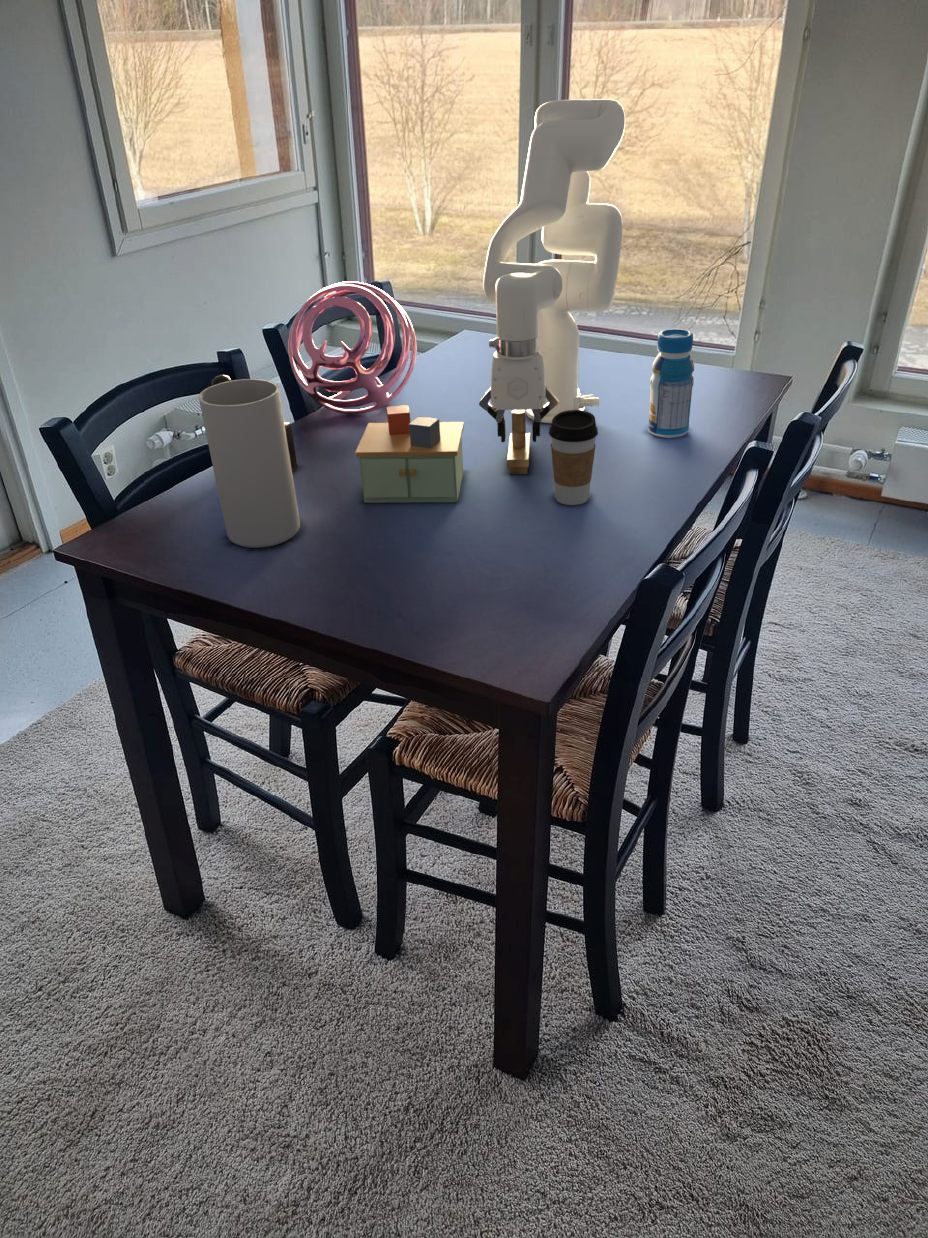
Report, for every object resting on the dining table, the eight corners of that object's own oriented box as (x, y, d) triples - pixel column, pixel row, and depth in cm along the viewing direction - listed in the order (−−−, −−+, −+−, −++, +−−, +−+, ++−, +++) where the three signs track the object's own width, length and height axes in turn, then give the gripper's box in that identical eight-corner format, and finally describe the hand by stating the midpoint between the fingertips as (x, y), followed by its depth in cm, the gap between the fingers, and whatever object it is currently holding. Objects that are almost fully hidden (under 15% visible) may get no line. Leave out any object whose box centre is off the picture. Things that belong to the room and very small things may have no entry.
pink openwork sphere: (335, 292, 220) (296, 245, 194) (445, 327, 216) (419, 283, 189) (296, 405, 222) (251, 373, 195) (404, 442, 217) (373, 414, 190)
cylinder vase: (267, 556, 154) (240, 410, 140) (212, 539, 160) (181, 398, 146) (315, 525, 163) (294, 385, 149) (262, 510, 168) (237, 374, 155)
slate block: (440, 439, 166) (439, 418, 164) (430, 448, 163) (429, 426, 161) (420, 437, 168) (419, 416, 166) (410, 445, 165) (408, 423, 163)
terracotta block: (409, 425, 173) (408, 404, 171) (411, 433, 170) (409, 412, 167) (388, 427, 173) (386, 406, 170) (389, 435, 169) (387, 414, 167)
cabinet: (466, 471, 179) (463, 421, 173) (459, 505, 166) (456, 453, 161) (373, 471, 181) (368, 422, 175) (360, 505, 168) (354, 454, 163)
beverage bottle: (671, 442, 186) (679, 342, 175) (638, 431, 191) (644, 333, 181) (697, 430, 190) (707, 332, 180) (664, 420, 196) (671, 324, 185)
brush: (530, 446, 187) (529, 398, 182) (528, 474, 176) (528, 423, 171) (510, 447, 188) (509, 399, 182) (507, 474, 177) (506, 424, 171)
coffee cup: (600, 490, 169) (603, 411, 161) (589, 510, 162) (592, 429, 154) (555, 485, 172) (555, 407, 163) (543, 505, 165) (543, 424, 157)
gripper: (469, 352, 168) (473, 447, 177) (565, 351, 166) (563, 446, 176) (472, 340, 174) (476, 432, 184) (564, 338, 172) (563, 431, 182)
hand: (518, 438), depth 180 cm, fingers open, 5 cm apart
